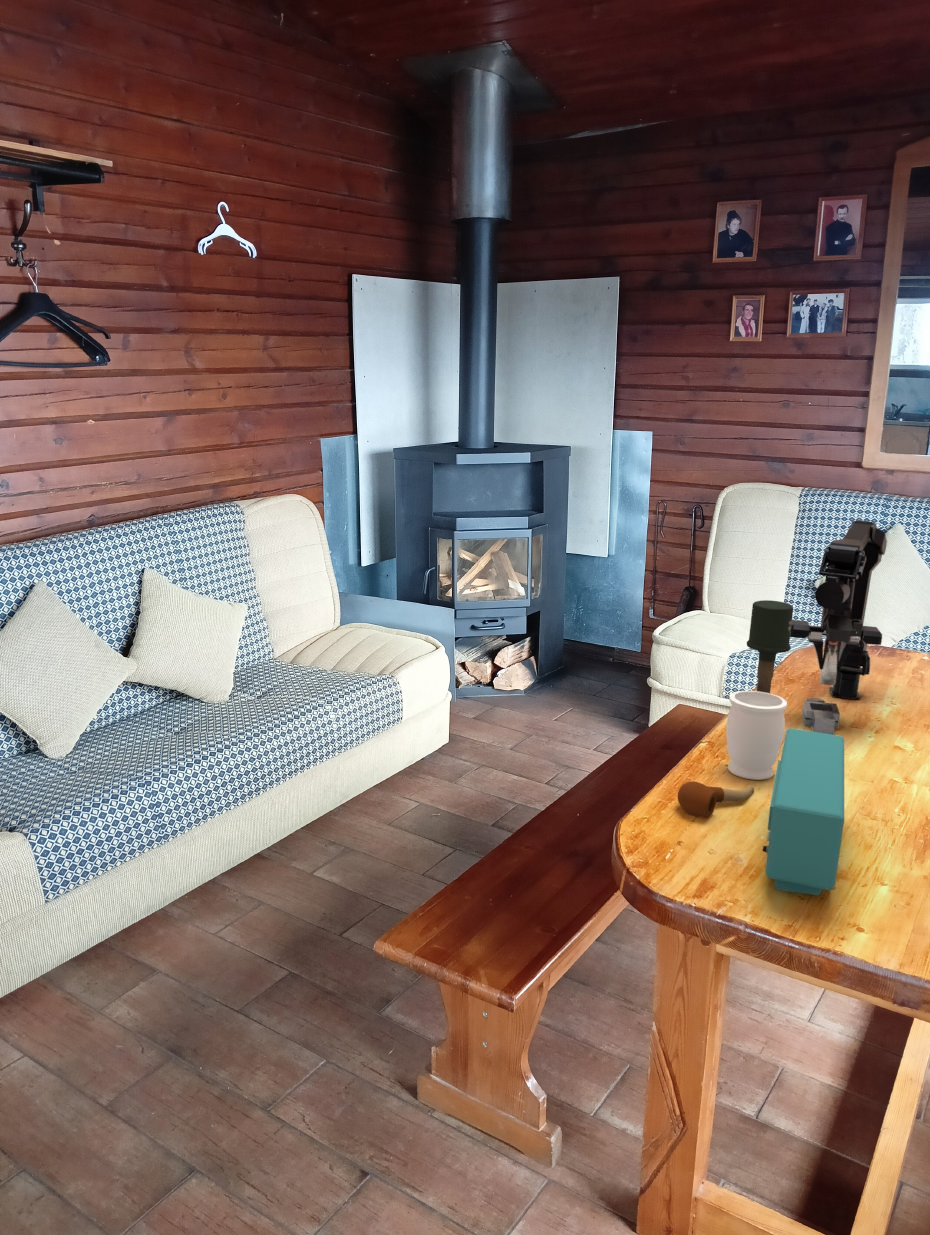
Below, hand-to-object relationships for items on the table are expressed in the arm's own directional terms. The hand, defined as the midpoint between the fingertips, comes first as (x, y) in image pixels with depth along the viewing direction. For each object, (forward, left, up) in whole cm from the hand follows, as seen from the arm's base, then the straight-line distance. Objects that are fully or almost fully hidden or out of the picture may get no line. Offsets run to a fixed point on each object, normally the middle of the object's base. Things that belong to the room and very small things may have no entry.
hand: (829, 669), depth 207 cm
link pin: (0, 0, -3) cm, 3 cm away
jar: (+34, -17, -13) cm, 40 cm away
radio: (+65, -10, -13) cm, 67 cm away
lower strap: (-4, -1, -12) cm, 13 cm away
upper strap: (+2, -1, -12) cm, 13 cm away
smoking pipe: (+50, -23, -13) cm, 57 cm away
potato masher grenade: (+18, -15, -13) cm, 26 cm away
